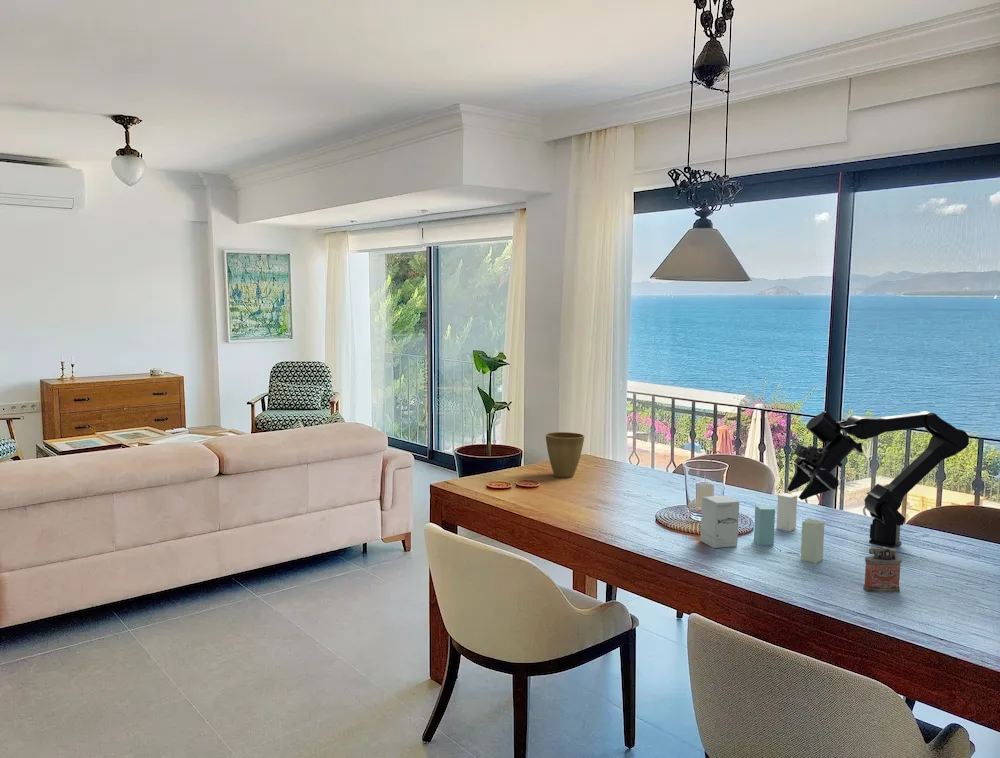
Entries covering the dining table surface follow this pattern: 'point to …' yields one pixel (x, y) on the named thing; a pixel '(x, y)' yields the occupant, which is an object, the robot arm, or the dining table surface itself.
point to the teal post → (764, 525)
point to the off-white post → (786, 511)
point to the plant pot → (564, 452)
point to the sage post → (812, 540)
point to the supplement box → (719, 521)
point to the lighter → (882, 571)
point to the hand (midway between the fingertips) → (794, 494)
